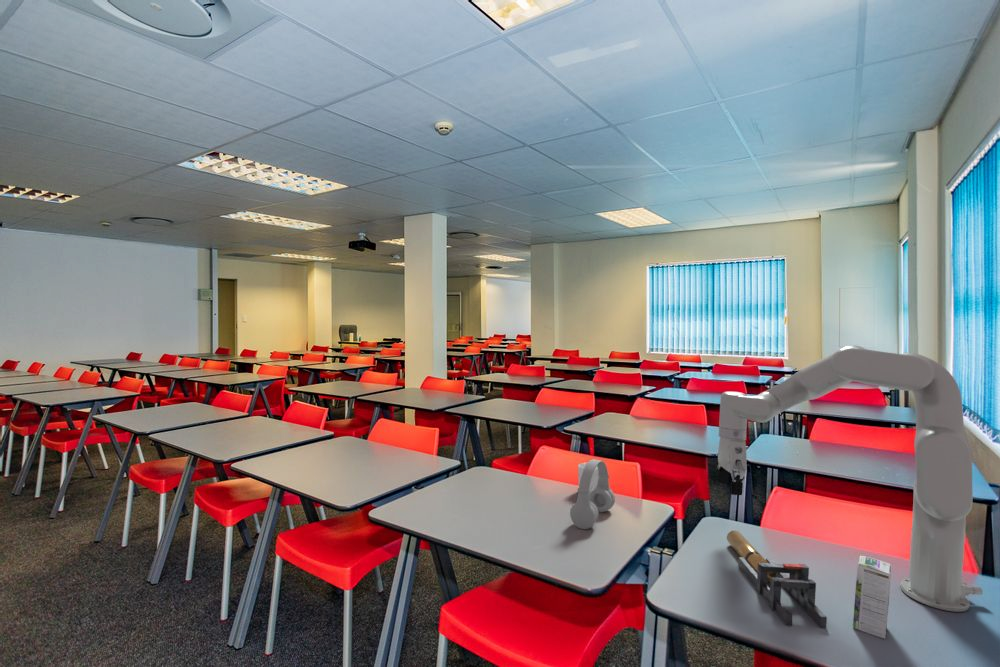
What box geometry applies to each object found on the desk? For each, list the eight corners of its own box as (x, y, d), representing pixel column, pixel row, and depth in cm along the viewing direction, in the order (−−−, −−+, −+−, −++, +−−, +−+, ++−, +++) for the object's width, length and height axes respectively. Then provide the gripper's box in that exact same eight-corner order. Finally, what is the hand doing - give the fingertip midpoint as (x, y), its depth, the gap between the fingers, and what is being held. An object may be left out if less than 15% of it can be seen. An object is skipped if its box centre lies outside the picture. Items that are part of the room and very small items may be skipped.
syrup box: (854, 616, 110) (857, 553, 109) (887, 627, 106) (891, 562, 106) (852, 628, 106) (856, 563, 105) (887, 640, 102) (891, 573, 101)
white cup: (573, 489, 185) (574, 463, 184) (592, 487, 187) (593, 462, 187) (583, 497, 177) (584, 470, 177) (602, 495, 180) (603, 468, 179)
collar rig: (771, 567, 131) (773, 534, 130) (828, 627, 106) (830, 587, 105) (736, 565, 131) (738, 533, 131) (784, 625, 106) (786, 585, 106)
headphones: (593, 533, 149) (595, 471, 148) (568, 526, 153) (570, 466, 152) (615, 511, 166) (617, 455, 165) (592, 505, 170) (593, 451, 169)
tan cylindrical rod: (728, 546, 143) (725, 531, 143) (743, 543, 143) (740, 529, 143) (759, 584, 123) (756, 567, 123) (777, 581, 123) (774, 564, 123)
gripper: (758, 441, 138) (755, 500, 139) (732, 426, 155) (730, 479, 156) (731, 440, 138) (728, 499, 139) (709, 425, 155) (706, 477, 156)
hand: (729, 488), depth 147 cm, fingers open, 9 cm apart
